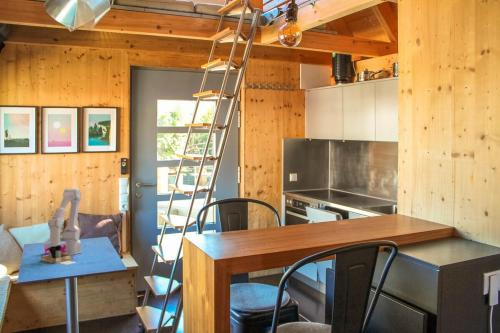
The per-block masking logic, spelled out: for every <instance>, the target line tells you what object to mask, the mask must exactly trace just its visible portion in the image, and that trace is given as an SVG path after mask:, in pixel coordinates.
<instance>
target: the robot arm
mask: <svg viewBox="0 0 500 333" xmlns="http://www.w3.org/2000/svg"><path fill="white" fill-rule="evenodd" d="M62 196H63V198H62V200H61V203H60V205H59V206H58V208H56V209H55V211H54V213H53V215H52V217H50V218H49V220H48V221H47V226H48V229H49V240H50V241H49V243H46V244H47V245H45V244H43V249H44V250H45V249H47V248H48V249H49V250H50V252H51V255H52V258H55V253H56V250H57V251H60V250H61V248H62V246H63V245H66V249H65V250H66V252H65V253H67V254H69V256H71V255H73V256H74V255H78V254H82V253H83V252H82V242H81V240H80V237H81V231H80V228H79V227H78V226H77V225H78V224H77V223H78V218H79V216H78V215H79V210H80V202H81V200H82V199H81V198H82V191H81V190H80V188H65V189H64V190H63V192H62ZM69 203H70V209H69V217H68V223H67V224H68V225H67V226H66V227H65V228H64V230H63V232H62V238H63V240H64V241H61V229H60V228H61V226H62V225H63V218H64V216H65V214H66V210H65V209H66V208H67V207H68V205H69Z"/></svg>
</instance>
